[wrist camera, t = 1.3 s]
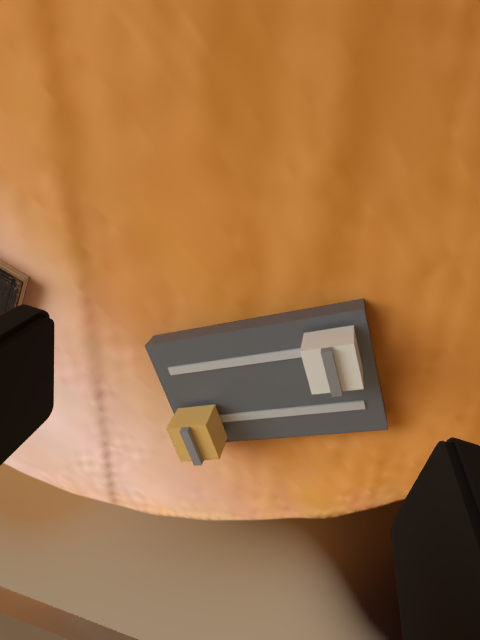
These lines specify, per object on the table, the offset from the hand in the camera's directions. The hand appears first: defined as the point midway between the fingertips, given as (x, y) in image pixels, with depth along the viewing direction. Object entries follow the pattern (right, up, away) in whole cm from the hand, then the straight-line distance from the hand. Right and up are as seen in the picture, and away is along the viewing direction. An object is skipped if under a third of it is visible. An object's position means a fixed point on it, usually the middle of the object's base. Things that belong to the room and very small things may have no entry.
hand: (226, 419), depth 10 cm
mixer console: (+3, -3, +30) cm, 30 cm away
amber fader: (-3, -8, +31) cm, 32 cm away
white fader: (+8, 0, +24) cm, 26 cm away
